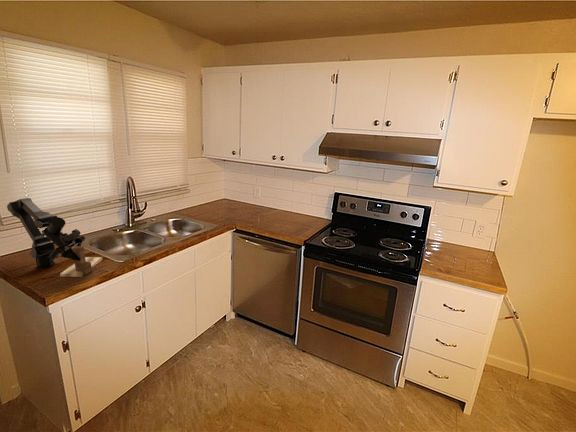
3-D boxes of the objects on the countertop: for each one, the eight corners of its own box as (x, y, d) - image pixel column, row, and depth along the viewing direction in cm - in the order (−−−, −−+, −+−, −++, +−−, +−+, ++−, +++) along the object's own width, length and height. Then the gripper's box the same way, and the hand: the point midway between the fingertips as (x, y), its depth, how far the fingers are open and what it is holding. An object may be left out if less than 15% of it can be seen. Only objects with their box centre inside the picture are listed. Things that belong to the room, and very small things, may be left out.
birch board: (60, 276, 153) (59, 273, 153) (83, 259, 172) (83, 256, 172) (81, 276, 154) (81, 273, 153) (102, 259, 173) (102, 257, 173)
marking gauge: (74, 274, 155) (69, 249, 151) (79, 270, 160) (75, 245, 156) (86, 274, 155) (82, 249, 151) (91, 270, 160) (88, 245, 156)
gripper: (51, 232, 142) (79, 256, 145) (79, 220, 160) (103, 241, 163) (38, 248, 144) (65, 270, 147) (66, 234, 162) (90, 255, 165)
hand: (82, 258), depth 155 cm, fingers closed on marking gauge, 4 cm apart
